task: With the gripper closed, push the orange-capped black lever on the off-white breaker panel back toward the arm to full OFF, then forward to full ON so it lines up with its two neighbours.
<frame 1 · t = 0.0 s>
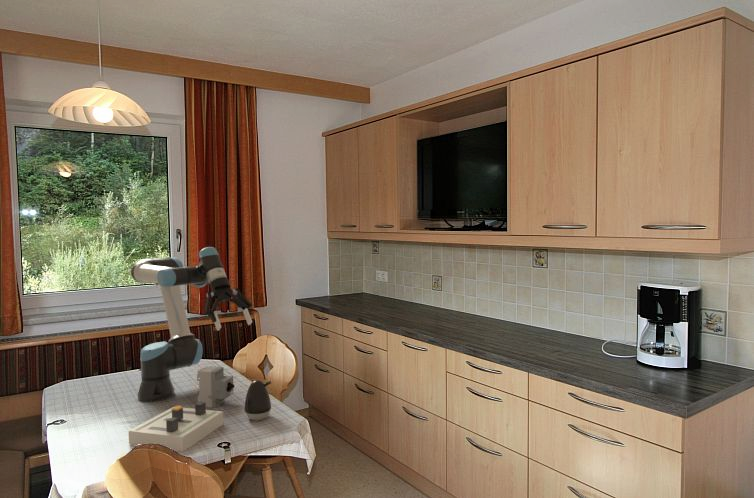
hand: (235, 326, 202), 36 cm above the table, tool tilted 35°, fingers open, 13 cm apart
tripped breaker handle: (177, 413, 186), point 8 cm above the table, slide at 4.0 cm
circuit breaker: (217, 404, 217), on the table
pump dispenser: (258, 418, 201), on the table
breaker panel: (178, 434, 186), on the table
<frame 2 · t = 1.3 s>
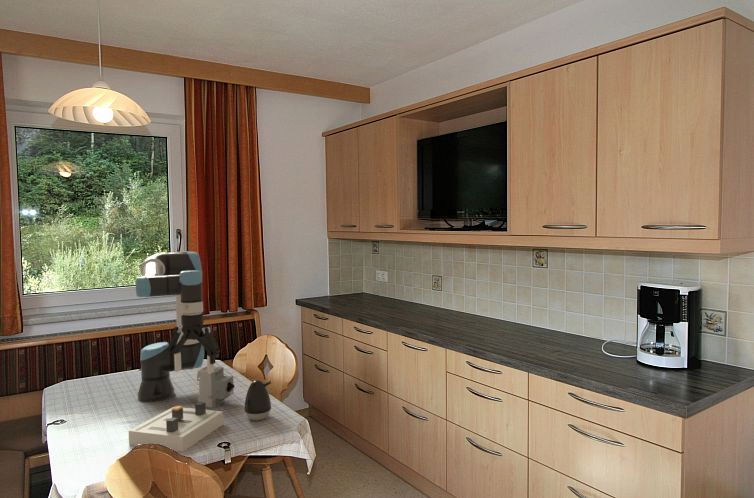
hand: (194, 372, 184), 23 cm above the table, tool pointing down, fingers open, 13 cm apart
nothing on the table moved.
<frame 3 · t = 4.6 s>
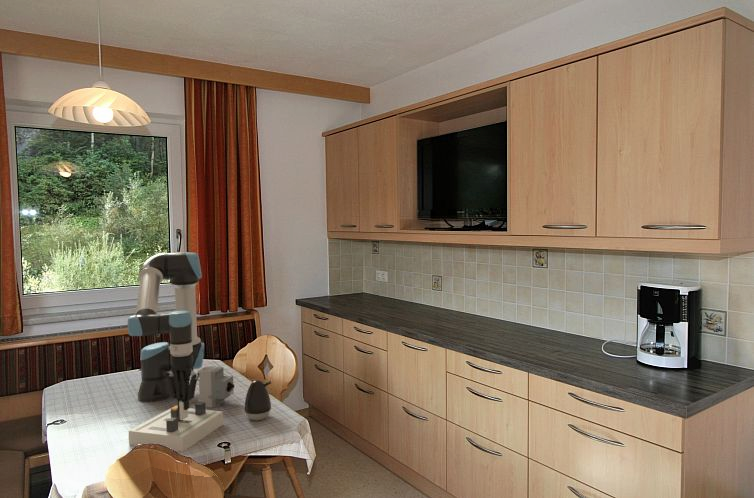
hand: (183, 417, 186), 6 cm above the table, tool pointing down, fingers closed
tripped breaker handle: (176, 413, 186), point 8 cm above the table, slide at 3.5 cm, touching gripper
everything else where it was.
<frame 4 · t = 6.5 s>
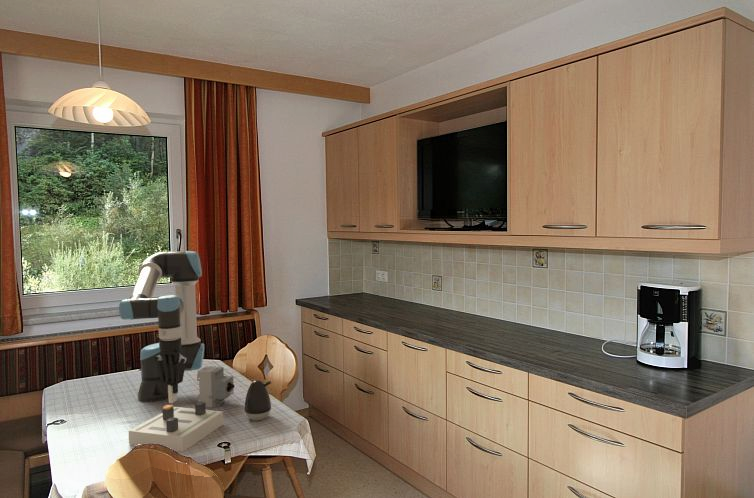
hand: (172, 401, 187), 12 cm above the table, tool pointing down, fingers closed
tripped breaker handle: (168, 412, 187), point 8 cm above the table, slide at -0.1 cm
everything else where it was.
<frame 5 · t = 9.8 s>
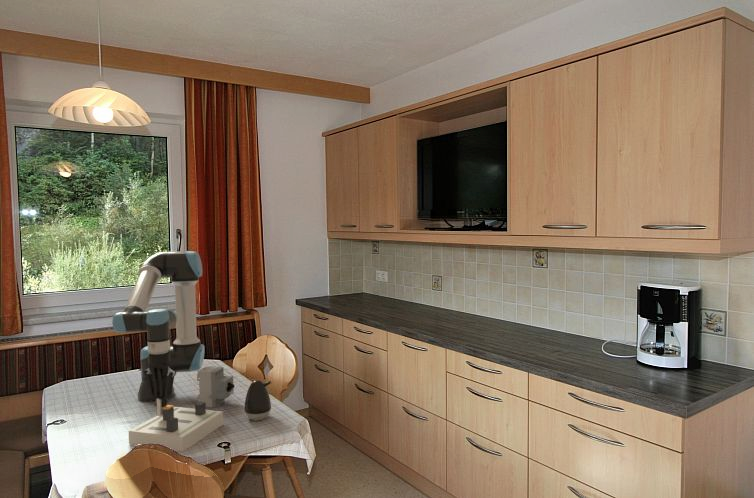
hand: (161, 415, 188), 7 cm above the table, tool pointing down, fingers closed
tripped breaker handle: (168, 412, 187), point 8 cm above the table, slide at 0.0 cm, touching gripper
everything else where it was.
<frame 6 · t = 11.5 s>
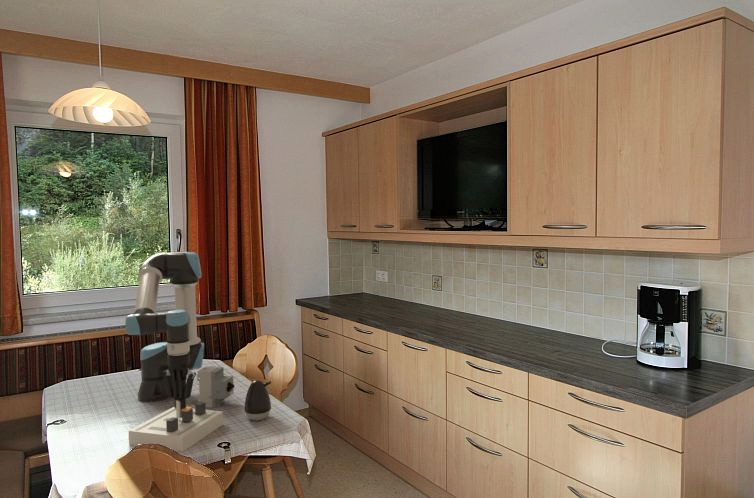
hand: (180, 417, 186), 7 cm above the table, tool pointing down, fingers closed
tripped breaker handle: (187, 414, 185), point 8 cm above the table, slide at 8.2 cm, touching gripper
everything else where it was.
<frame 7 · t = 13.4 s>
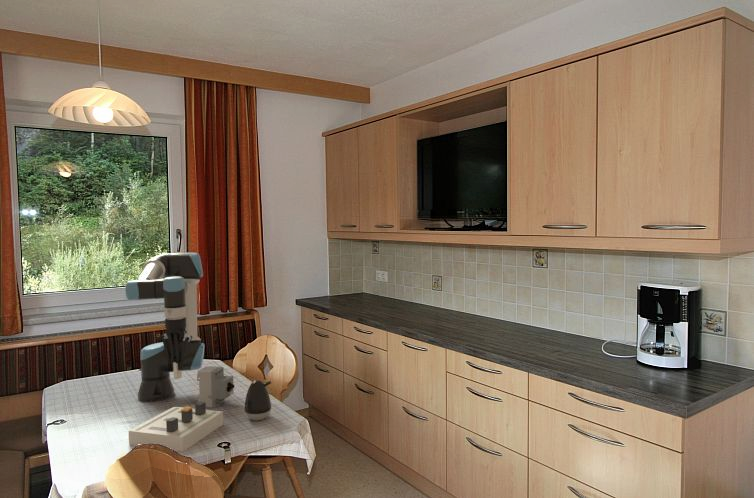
hand: (177, 378, 195), 18 cm above the table, tool pointing down, fingers closed
tripped breaker handle: (187, 414, 185), point 8 cm above the table, slide at 8.1 cm
everything else where it was.
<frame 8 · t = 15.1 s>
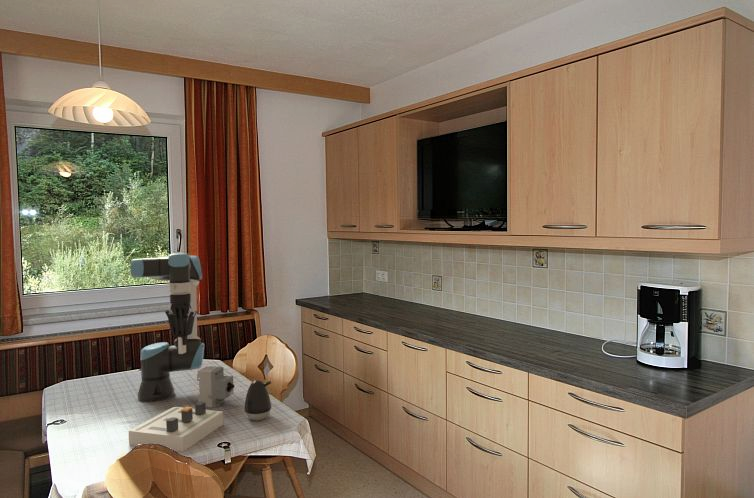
hand: (182, 352, 200), 26 cm above the table, tool pointing down, fingers closed
nothing on the table moved.
at the end: tripped breaker handle slide at 8.1 cm; pump dispenser moved 0.2 cm from its start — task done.
